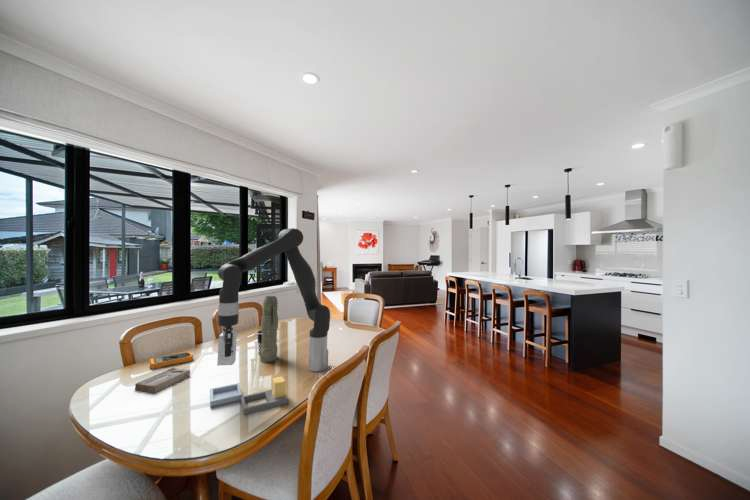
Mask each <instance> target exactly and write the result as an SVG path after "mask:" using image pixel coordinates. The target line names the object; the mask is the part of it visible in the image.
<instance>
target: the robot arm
mask: <svg viewBox="0 0 750 500" xmlns="http://www.w3.org/2000/svg"><path fill="white" fill-rule="evenodd" d="M303 241H304V235H303V232H302V231H301V230H300V229H298V228H294V227H292V228H284V229H282V230H281V231H280V232H279V233H278V239H276V240H274V241H272V242H270V243H268V244H265V245H262V246H260V247H258V248H255V249H253V250H251V251H249V252H248V253H245V254H244V255H242V256H241V257H238V258H236V259H233V260H231V261H228V262H226V263H225V264H222V265H221V266H220V267H219V269H218V270H217V276H218V278H219V279H220V280H222V287H221V288H220V289H219V295H218V296H219V297H218V299H219V300H218V308H217V326H219V327H223V328H222V329H221V330H222V332H221V333H223V341H224V342H225V346H224V347H225V357H229V356H231V347H232V340H233V333H235V330H234V326H236V325H238V324H239V315H240V312H239V310H240V308H239V307H240V305H239V289H240V287H241V283H242V274H243V273H245V272H249V271H253V270H254V269H256V268H257V267H260V266H261V265H262V264H264V263H266V262H268V261H269V260H271V259H273V258H274V257H276V256H278V255H280V254H282V253H284V254H285V257H286V259H287V261H288V264H289V267H290V269H291V271H292V274H293V277H294V280H295V282H296V285H297V288H298V290H299V291H300V295H301V297H302V300H303V302H304V305H305V310H306V314H307V316H308V318H309V319H310V320H311V321H313V327H312V328H310V330H309V340H308V343H309V345H308V370H309V371H311V372H322V371H324V370H327V369H328V368H329V349H328V333H329V330H330V324H331V323H330V322H331V310H330V308H329V307H328V306H327V305H324V304H321V302H320V301H319V299H318V297H317V293H316V292H317V291H316V286H317V285H316V283H317V282H316V278H315V275H314V272H313V269H312V267H311V266H310V264H309V263H308V262H307V261H306V259H305V258H304V257H303V256H302V255H303V254H301V252H300V249H299V246H301V245H302V243H303ZM227 342H230V344H227Z"/></svg>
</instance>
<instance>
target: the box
mask: <svg viewBox="0 0 750 500" xmlns="http://www.w3.org/2000/svg"><path fill="white" fill-rule="evenodd" d="M190 376H191V370H190V369H183V368H175V367H172V368H169V369H167V370H164V371H162V372H160V373H157V374H155V375H152V376H151V377H148V378H146V379H144V380H141V381H138V382H136V383H135V387H134V390H135V391H141V392H144V393H145V392H147V393H150V394H155V393H158V392H159V391H162V390H164V389H165V388H167V387H170V386H172V385H174V384H177V383H178V382H180V381H182V380H185V379H186V378H188V377H190Z"/></svg>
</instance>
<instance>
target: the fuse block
mask: <svg viewBox="0 0 750 500" xmlns="http://www.w3.org/2000/svg"><path fill="white" fill-rule="evenodd" d="M271 379H272V380H271V381H272V382H271V384H272V385H271V389H269V390H264V391H260V392H256V393H251V394H246V395H242V396H241V401H240V405H241V410H242V413H243V414H242V415H247V414H251V413H255V412H259V411H263V410H267V409H271V408H274V407H279V406H282V405H286V404H288V397H287V395H286V380H285V379H284V377H283V376H278V377H272V378H271ZM263 398H264V399H265V402H262V403H258V404H254V405H251V406H247V405H246V403H247V402H250V401H254V400H259V399H263Z"/></svg>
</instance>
